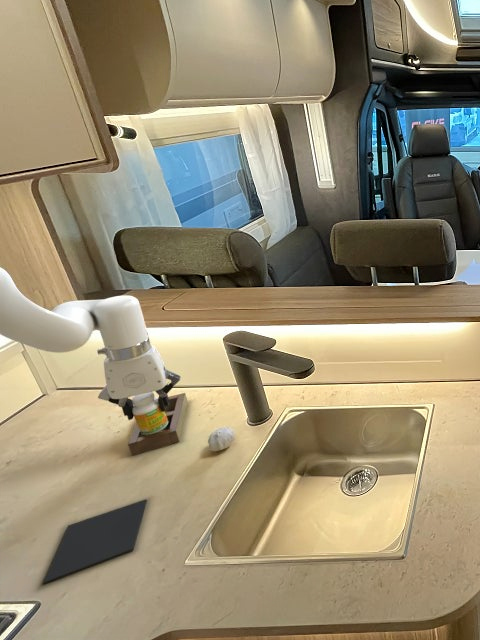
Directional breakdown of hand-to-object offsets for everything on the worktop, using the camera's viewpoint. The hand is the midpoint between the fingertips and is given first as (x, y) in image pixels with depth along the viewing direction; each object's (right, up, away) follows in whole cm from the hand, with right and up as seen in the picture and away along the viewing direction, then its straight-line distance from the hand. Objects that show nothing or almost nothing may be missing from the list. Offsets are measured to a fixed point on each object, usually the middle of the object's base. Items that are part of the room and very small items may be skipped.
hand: (148, 411), depth 101 cm
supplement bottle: (0, -5, +2) cm, 5 cm away
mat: (+10, -17, -21) cm, 29 cm away
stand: (-2, -6, +6) cm, 9 cm away
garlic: (+18, -9, +1) cm, 20 cm away
